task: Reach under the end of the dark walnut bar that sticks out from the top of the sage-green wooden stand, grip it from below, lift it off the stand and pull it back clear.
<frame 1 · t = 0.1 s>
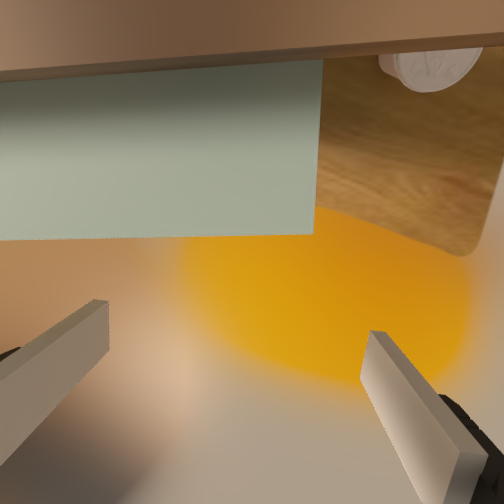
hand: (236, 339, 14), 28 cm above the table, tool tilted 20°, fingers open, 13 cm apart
smoothie: (395, 54, 30), on the table
stand: (229, 58, 31), on the table
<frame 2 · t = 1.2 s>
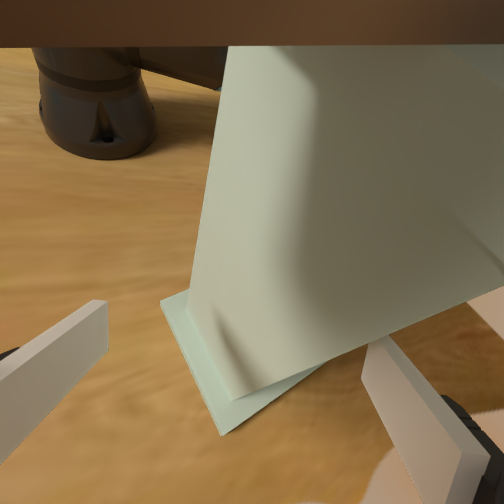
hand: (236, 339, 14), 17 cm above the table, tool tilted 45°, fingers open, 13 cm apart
stand: (245, 333, 32), on the table
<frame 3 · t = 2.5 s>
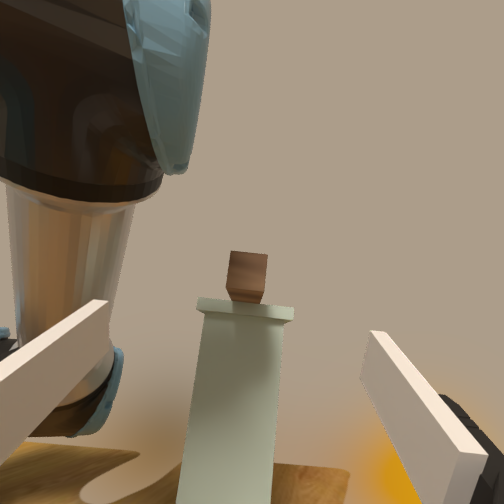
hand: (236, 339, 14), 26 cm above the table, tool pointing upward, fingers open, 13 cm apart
walnut bar: (245, 305, 38), point 30 cm above the table, touching stand
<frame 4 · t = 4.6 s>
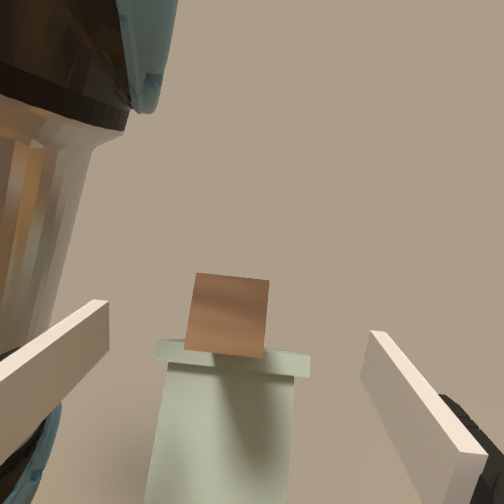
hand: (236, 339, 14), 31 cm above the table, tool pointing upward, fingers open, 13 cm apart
walnut bar: (234, 346, 25), point 30 cm above the table, touching stand
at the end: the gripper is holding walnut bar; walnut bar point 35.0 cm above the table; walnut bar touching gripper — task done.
